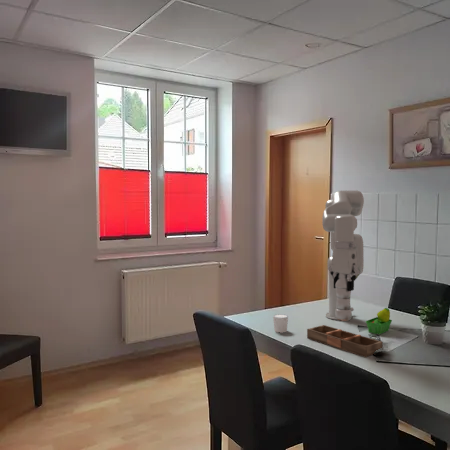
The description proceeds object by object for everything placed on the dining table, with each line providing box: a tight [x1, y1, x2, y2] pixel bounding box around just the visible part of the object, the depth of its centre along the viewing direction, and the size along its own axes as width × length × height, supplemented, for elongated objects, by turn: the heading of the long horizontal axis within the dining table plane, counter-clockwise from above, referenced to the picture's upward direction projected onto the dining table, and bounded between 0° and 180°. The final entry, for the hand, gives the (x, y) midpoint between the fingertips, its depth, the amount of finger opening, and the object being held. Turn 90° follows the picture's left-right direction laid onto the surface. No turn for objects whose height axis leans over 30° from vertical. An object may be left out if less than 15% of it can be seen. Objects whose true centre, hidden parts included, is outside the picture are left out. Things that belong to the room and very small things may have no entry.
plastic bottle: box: [335, 273, 353, 322], centre depth 189 cm, size 6×7×20 cm
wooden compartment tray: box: [306, 324, 384, 358], centre depth 190 cm, size 11×30×4 cm, turn 36°
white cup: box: [272, 313, 289, 334], centre depth 210 cm, size 7×7×7 cm
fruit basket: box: [365, 307, 393, 335], centre depth 208 cm, size 11×9×11 cm
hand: (343, 288), depth 189 cm, fingers closed on plastic bottle, 6 cm apart
